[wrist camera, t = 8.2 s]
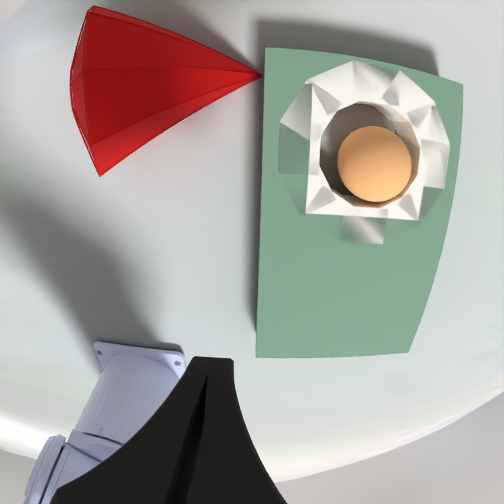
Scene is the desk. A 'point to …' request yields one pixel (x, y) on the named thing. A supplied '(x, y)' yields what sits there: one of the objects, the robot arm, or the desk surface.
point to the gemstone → (141, 82)
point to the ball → (374, 163)
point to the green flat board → (349, 208)
